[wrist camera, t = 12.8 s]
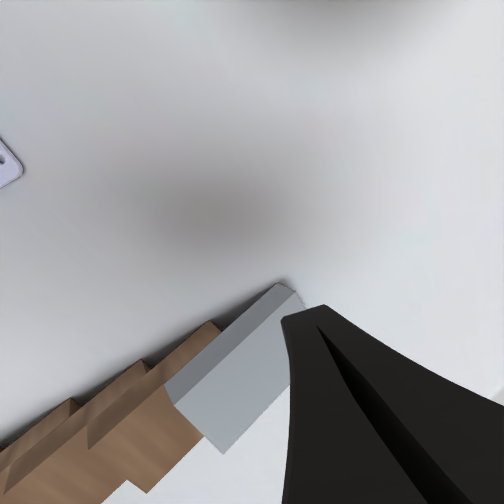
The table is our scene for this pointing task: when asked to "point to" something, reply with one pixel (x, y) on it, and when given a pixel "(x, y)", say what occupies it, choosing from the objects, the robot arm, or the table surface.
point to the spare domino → (237, 371)
